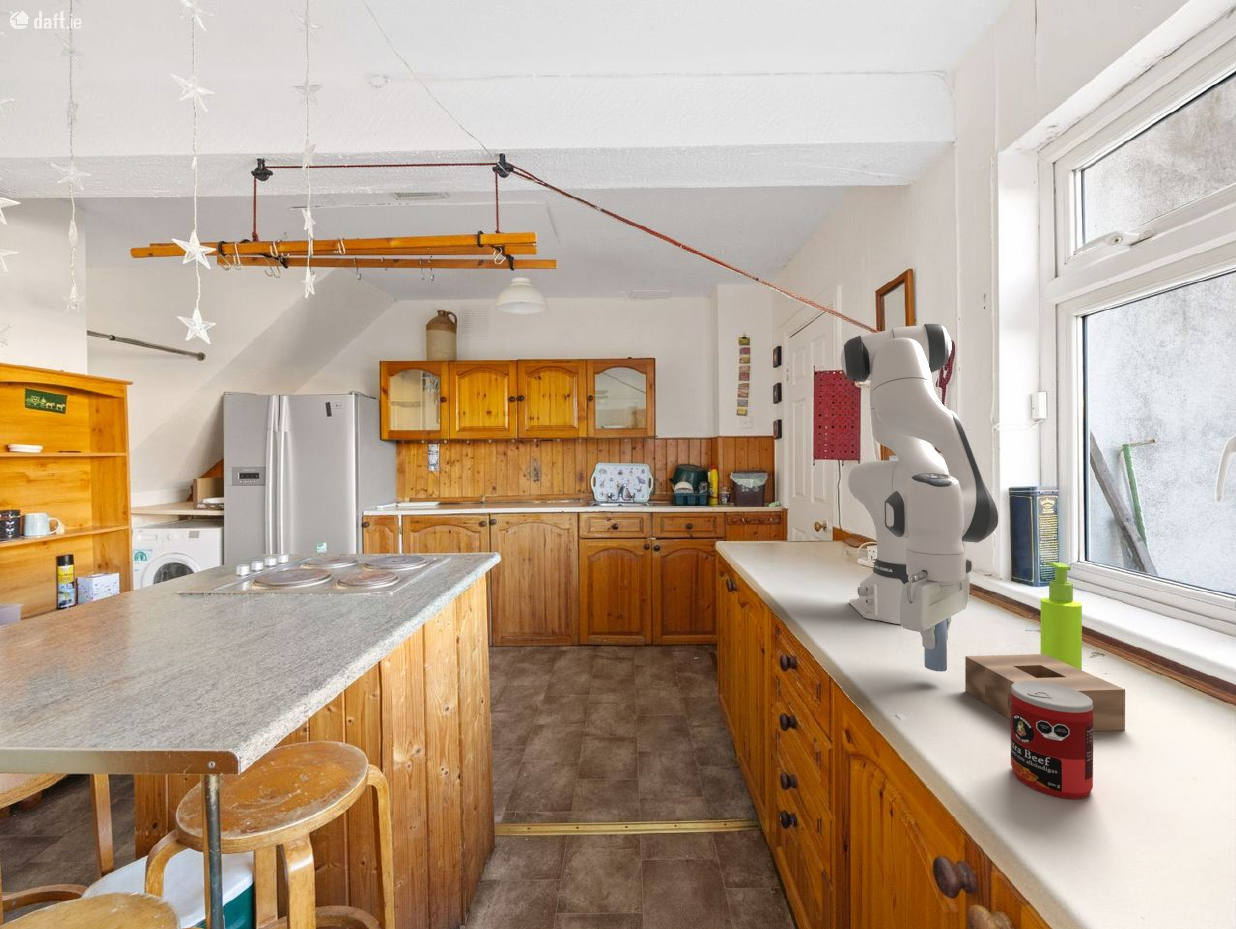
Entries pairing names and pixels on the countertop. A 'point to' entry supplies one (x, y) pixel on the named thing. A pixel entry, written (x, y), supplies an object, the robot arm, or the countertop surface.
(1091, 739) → the canned food
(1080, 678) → the socket block
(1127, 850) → the countertop surface
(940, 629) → the dowel
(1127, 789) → the countertop surface
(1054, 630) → the soap dispenser
